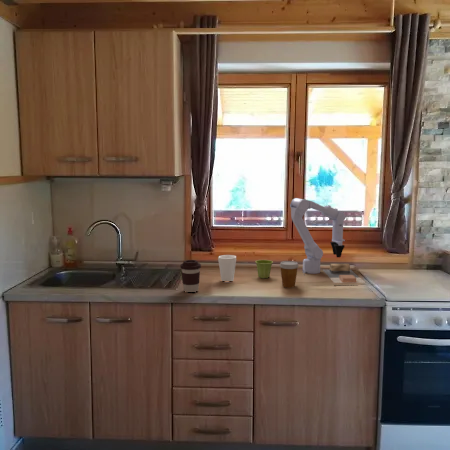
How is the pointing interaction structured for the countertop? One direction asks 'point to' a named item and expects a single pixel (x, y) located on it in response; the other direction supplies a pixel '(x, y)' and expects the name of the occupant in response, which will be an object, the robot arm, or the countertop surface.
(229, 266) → the foam cup
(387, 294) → the countertop surface
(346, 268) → the block
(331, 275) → the board
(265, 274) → the plant pot
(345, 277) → the tile
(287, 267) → the disposable coffee cup
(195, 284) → the coffee cup
